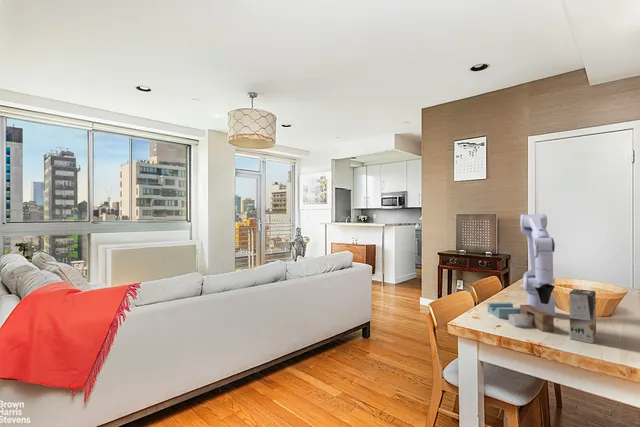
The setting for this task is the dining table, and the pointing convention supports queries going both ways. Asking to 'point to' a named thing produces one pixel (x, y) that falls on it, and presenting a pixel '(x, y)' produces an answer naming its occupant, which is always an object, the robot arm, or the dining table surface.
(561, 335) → the dining table surface
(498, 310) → the v block
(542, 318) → the brown bridge block
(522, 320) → the grey rectangular bar
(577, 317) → the coffee box
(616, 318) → the dining table surface
